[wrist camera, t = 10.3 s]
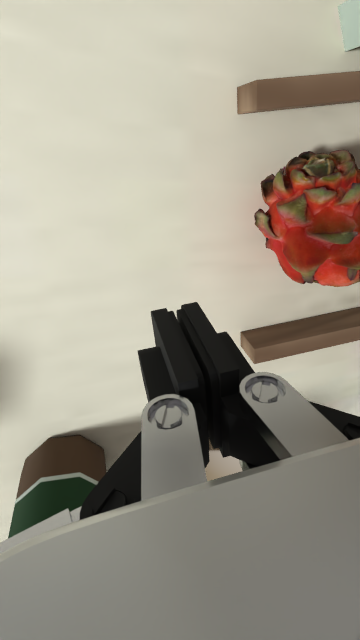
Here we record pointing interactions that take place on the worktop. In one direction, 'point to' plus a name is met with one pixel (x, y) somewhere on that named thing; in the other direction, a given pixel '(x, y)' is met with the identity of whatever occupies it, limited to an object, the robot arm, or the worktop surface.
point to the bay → (323, 327)
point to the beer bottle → (56, 480)
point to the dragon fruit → (314, 218)
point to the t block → (350, 23)
